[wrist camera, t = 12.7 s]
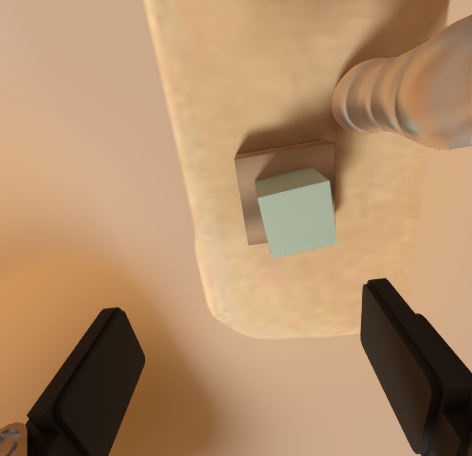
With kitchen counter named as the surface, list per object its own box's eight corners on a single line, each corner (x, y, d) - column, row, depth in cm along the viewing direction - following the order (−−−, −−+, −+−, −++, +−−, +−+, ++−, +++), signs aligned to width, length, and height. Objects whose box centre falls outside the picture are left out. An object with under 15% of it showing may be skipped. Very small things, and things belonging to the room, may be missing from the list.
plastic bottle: (398, 114, 27) (704, 114, 9) (336, 143, 29) (492, 195, 11) (383, 49, 25) (748, -122, 7) (316, 85, 27) (471, 21, 8)
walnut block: (235, 153, 30) (234, 159, 26) (323, 139, 29) (334, 143, 25) (248, 231, 34) (248, 245, 30) (325, 220, 33) (335, 233, 29)
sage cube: (254, 181, 27) (257, 198, 22) (311, 166, 26) (329, 180, 21) (266, 231, 30) (271, 258, 24) (319, 219, 29) (337, 244, 23)
